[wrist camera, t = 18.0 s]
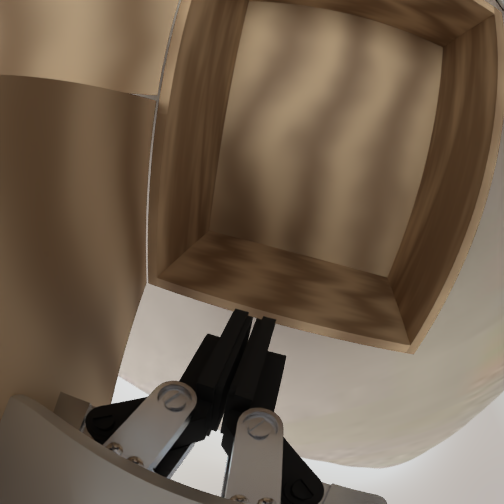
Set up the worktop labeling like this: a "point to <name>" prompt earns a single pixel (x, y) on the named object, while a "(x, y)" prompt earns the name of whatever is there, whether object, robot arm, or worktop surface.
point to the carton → (325, 159)
